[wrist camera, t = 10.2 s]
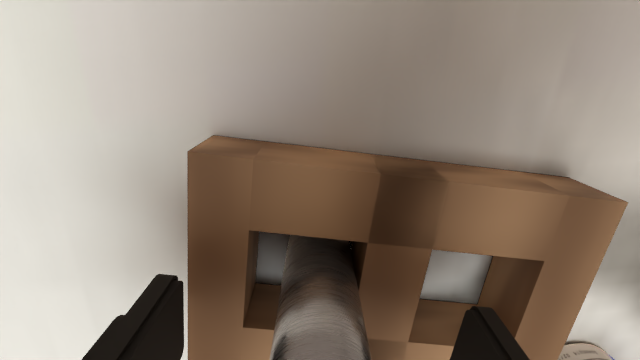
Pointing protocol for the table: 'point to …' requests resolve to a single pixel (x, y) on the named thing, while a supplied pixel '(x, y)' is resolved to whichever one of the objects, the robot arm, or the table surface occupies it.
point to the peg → (319, 304)
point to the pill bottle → (583, 352)
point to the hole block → (388, 244)
